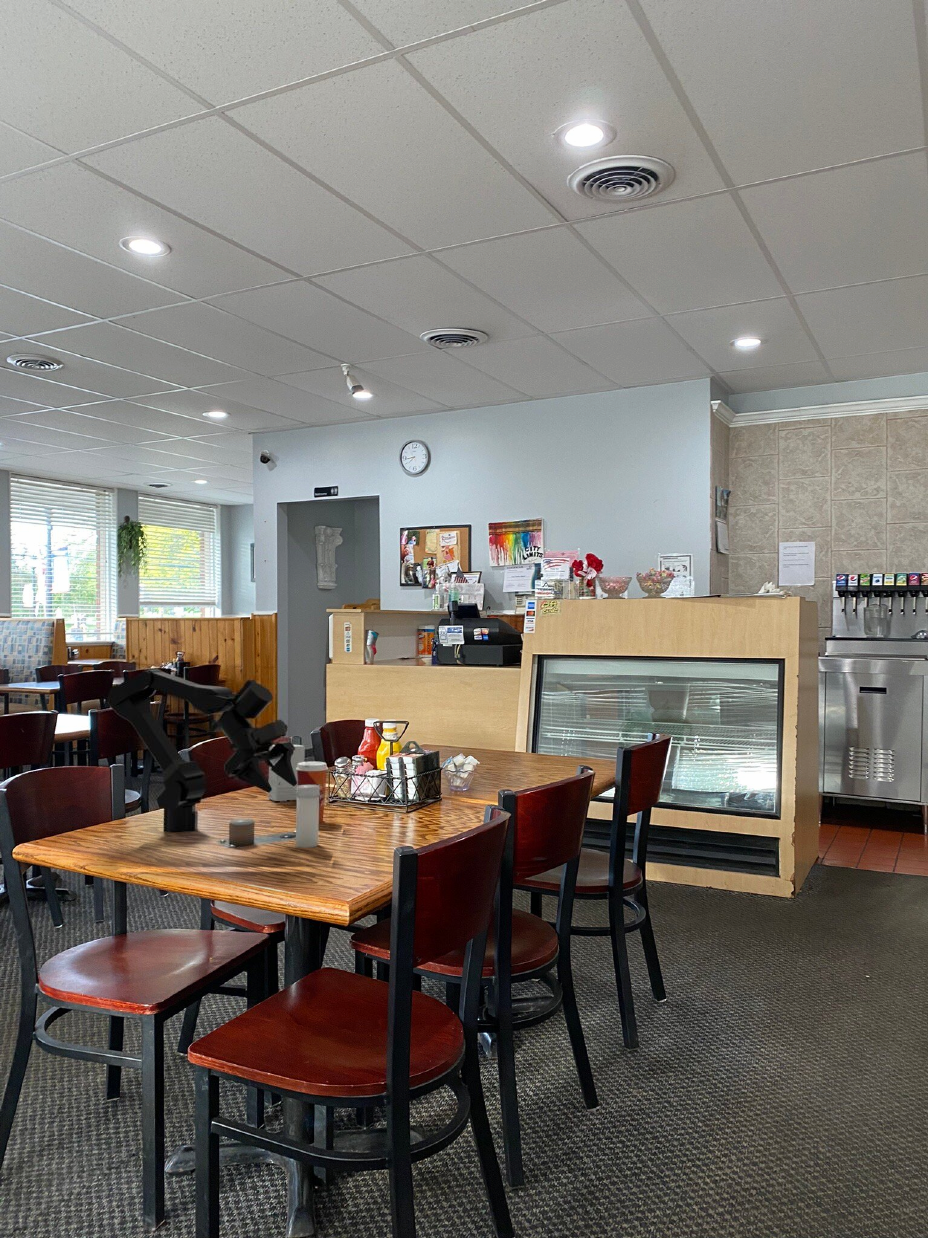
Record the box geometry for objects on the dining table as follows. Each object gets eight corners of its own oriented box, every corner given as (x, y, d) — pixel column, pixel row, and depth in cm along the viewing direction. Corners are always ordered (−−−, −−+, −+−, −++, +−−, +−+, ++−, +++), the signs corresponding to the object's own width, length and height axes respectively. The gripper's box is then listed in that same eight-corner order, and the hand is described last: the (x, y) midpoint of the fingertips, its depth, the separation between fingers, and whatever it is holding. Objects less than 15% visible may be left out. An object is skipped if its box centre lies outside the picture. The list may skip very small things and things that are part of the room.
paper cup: (320, 825, 210) (321, 766, 210) (289, 824, 211) (290, 764, 212) (332, 819, 218) (333, 761, 218) (302, 817, 219) (303, 760, 219)
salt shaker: (294, 851, 184) (295, 788, 185) (297, 846, 189) (298, 784, 189) (317, 851, 185) (318, 788, 185) (319, 846, 189) (320, 784, 190)
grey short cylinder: (226, 845, 186) (226, 823, 186) (231, 839, 191) (231, 818, 191) (251, 845, 186) (252, 823, 186) (256, 839, 191) (256, 818, 191)
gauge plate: (228, 852, 183) (229, 847, 183) (215, 845, 189) (215, 839, 189) (313, 841, 194) (313, 836, 194) (298, 834, 200) (298, 829, 200)
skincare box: (276, 802, 239) (277, 746, 239) (267, 799, 244) (268, 744, 244) (304, 799, 244) (305, 745, 244) (295, 796, 249) (296, 742, 249)
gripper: (236, 711, 183) (280, 768, 179) (288, 705, 200) (330, 757, 196) (205, 747, 186) (247, 804, 182) (259, 738, 203) (299, 791, 199)
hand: (283, 788), depth 189 cm, fingers open, 9 cm apart
